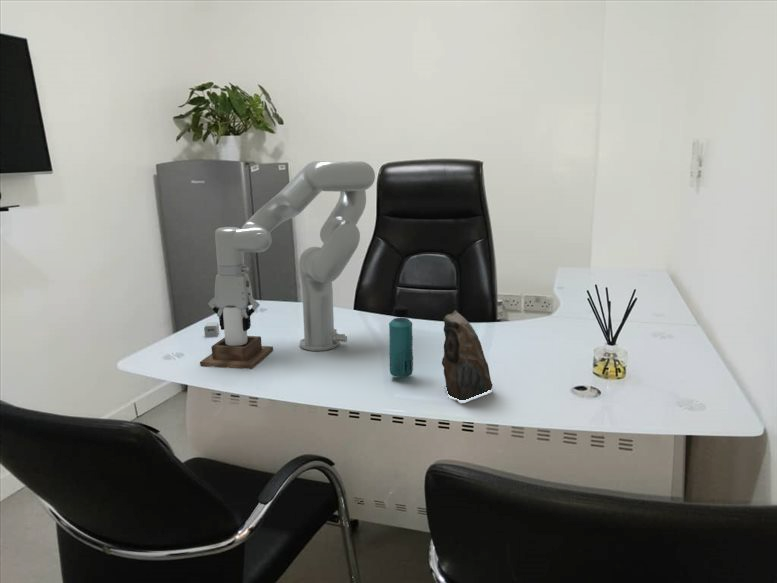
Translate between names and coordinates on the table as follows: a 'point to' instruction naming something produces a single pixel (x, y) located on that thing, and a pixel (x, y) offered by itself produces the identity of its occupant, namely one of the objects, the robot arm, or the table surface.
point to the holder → (237, 354)
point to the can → (234, 327)
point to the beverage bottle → (401, 343)
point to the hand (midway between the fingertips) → (235, 328)
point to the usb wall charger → (211, 329)
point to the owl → (463, 359)
